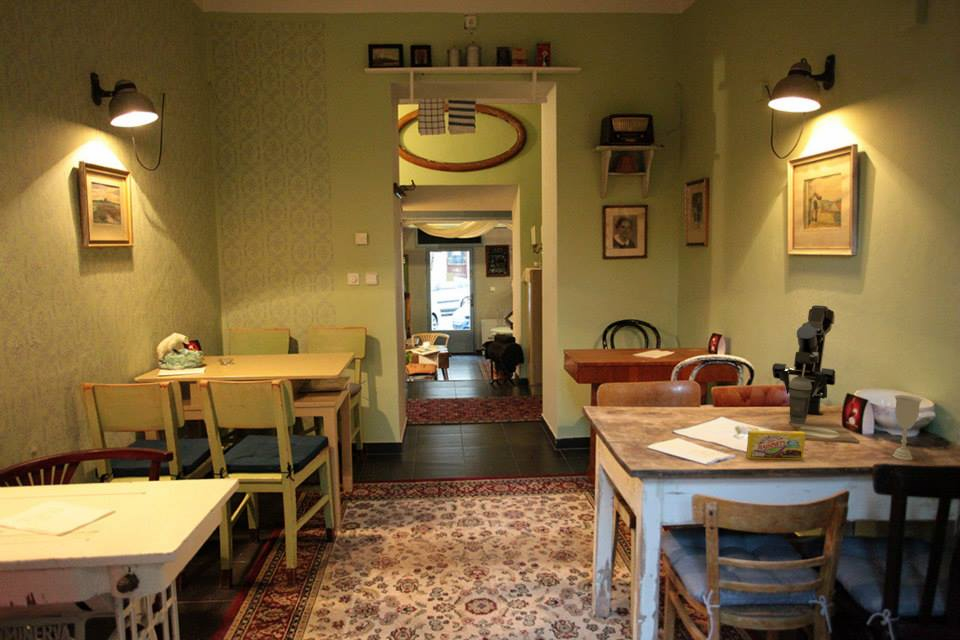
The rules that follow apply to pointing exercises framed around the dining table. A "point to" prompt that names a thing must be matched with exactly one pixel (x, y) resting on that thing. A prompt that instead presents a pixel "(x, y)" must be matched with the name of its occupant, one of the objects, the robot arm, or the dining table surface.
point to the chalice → (906, 421)
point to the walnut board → (825, 432)
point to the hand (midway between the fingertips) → (799, 394)
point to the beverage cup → (799, 398)
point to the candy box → (775, 445)
